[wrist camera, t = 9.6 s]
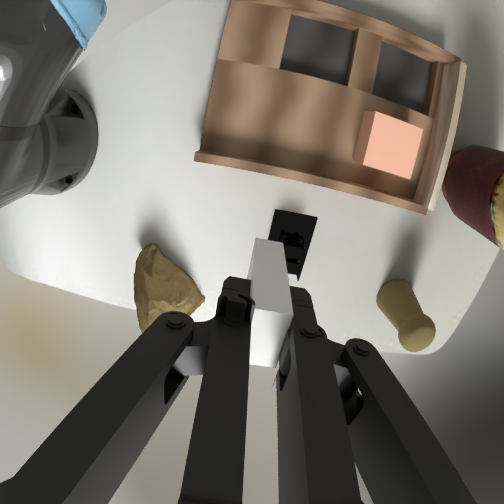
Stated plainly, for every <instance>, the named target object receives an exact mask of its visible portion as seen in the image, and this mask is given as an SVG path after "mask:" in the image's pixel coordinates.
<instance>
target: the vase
mask: <svg viewBox="0 0 504 504" xmlns="http://www.w3.org/2000/svg"><path fill="white" fill-rule="evenodd" d="M442 191H443V194H444V197H445V199H446V201H447V202H448V203H449V206H450V208H451V210H452V212H453V213H454V214H455V215H456V216H457V217H458V218H459V219H460V220H462V221H463V222H464V223H466V224H467V225H469V226H470V227H471V228H473V229H474V230H476V231H477V232H479V233H480V234H482V235H483V236H484V237H486V238H487V239H489V240H490V241H491V242H493V243H494V244H495V245H497V246H498V247H500V248H501V249H502V250H504V152H503V151H499V150H495V149H491V148H487V147H482V146H470V147H467V148H465V149H463V150H460V151H457V152H456V153H454V154H453V155H452V156H451V157H450V158H449V162H448V166H447V169H446V173H445V176H444V180H443V183H442Z"/></svg>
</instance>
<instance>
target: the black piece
mask: <svg viewBox="0 0 504 504" xmlns="http://www.w3.org/2000/svg"><path fill="white" fill-rule="evenodd" d="M317 219H318V218H317V217H314V216H309V215H304V214H299V213H294V212H289V211H284V210H278V209H275V212H274V216H273V220H272V225H271V229H270V233H269V238H268V240H270V241H276V242H281V243H283V246H284V253H285V259H286V266H287V273H288V279H289V280H294V281H299V278H300V275H301V272H302V268H303V265H304V262H305V259H306V255H307V252H308V249H309V246H310V242H311V239H312V236H313V232H314V229H315V226H316V222H317Z"/></svg>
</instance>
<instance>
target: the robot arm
mask: <svg viewBox="0 0 504 504" xmlns="http://www.w3.org/2000/svg"><path fill="white" fill-rule="evenodd" d="M106 11H107V7H106V3H105V1H104V0H0V208H1V207H3V206H5V205H7V204H9V203H11V202H13V201H15V200H17V199H19V198H21V197H23V196H25V195H27V194H39V195H55V194H59V193H62V192H65V191H67V190H69V189H71V188H73V187H74V186H76V185H77V184H79V183H80V182H81V181H82V180H83V179H84V178H85V176H86V175H87V173H88V172H89V170H90V168H91V166H92V164H93V162H94V159H95V156H96V151H97V145H98V129H97V123H96V119H95V116H94V113H93V111H92V109H91V107H90V105H89V104H88V102H87V101H86V100H85V99H84V98H83V97H82V96H81V95H79V94H78V93H76V92H74V91H72V90H68V89H59V87H60V85H61V84H62V82H63V80H64V79H65V77H66V76H67V74H68V72H69V71H70V69H71V68H72V66H73V65H74V63H75V62H76V60H77V59H78V57H79V55H80V54H81V53H82V51H83V50H84V51H85V49H86V48H87V43H88V42H89V40H90V38H91V37H92V35H93V34H94V32H95V31H96V30H97V28H98V27H99V25H100V24H101V22H102V21H103V19H104V18H105V15H106ZM278 360H279V370H278V372H277V375H276V378H275V380H274V383H273V386H272V389H275V387H276V388H277V424H278V472H279V473H278V477H279V504H364V503H363V502H362V500H361V497H360V492H359V486H358V480H357V474H356V469H355V464H356V466H357V468H358V471H359V473H360V475H361V477H362V479H363V481H364V483H365V485H366V488H367V490H368V492H369V494H370V496H371V498H372V501H373V503H374V504H476V502H475V500H474V499H473V497H472V495H471V494H470V492H469V490H468V489H467V487H466V485H465V484H464V482H463V480H462V478H461V477H460V475H459V474H458V472H457V470H456V469H455V467H454V465H453V464H452V462H451V461H450V459H449V457H448V456H447V454H446V453H445V451H444V449H443V448H442V446H441V445H440V443H439V442H438V440H437V438H436V437H435V436H434V434H433V432H432V431H431V429H430V428H429V426H428V425H427V423H426V421H425V420H424V418H423V417H422V415H421V414H420V413H419V411H418V409H417V408H416V407H415V405H414V403H413V402H412V400H411V399H410V398H409V396H408V395H407V393H406V391H405V390H404V389H403V387H402V386H401V384H400V383H399V381H398V380H397V379H396V377H395V375H394V374H393V373H392V371H391V370H390V368H389V367H388V366H387V364H386V362H385V361H384V360H383V358H382V357H381V355H380V354H379V352H378V351H377V350H376V348H375V347H374V346H373V345H372V344H371V343H369V342H367V341H366V340H363V339H358V338H353V339H349V340H348V341H347V342H346V344H345V345H342V344H339V343H336V342H333V341H331V340H329V339H327V335H326V333H325V331H324V329H322V328H321V327H320V326H319V325H317V321H316V316H315V312H314V309H313V304H312V299H311V295H310V294H309V293H308V292H307V290H306V289H305V288H299V287H293V286H289V280H288V273H287V266H286V259H285V253H284V246H283V243H281V242H276V241H270V240H265V239H260V238H255V243H254V248H253V253H252V258H251V263H250V267H249V272H248V277H247V279H242V278H237V277H231V276H229V277H228V278H227V279H226V280H225V281H224V283H223V288H222V292H221V295H220V296H219V298H218V303H217V309H216V316H215V317H214V318H212V319H211V320H208V321H205V322H194V321H193V319H192V318H191V317H190V316H189V315H187V314H185V313H183V312H179V311H168V312H164V313H162V314H161V315H159V316H158V317H157V318H156V319H155V320H154V322H153V323H152V324H151V325H150V326H149V327H148V328H147V329H146V330H145V331H144V332H143V333H142V334H141V335H140V336H139V338H138V339H137V340H136V341H135V342H134V343H133V344H132V345H131V346H130V347H129V348H128V349H127V351H125V353H124V354H123V355H122V356H121V357H120V358H119V359H118V360H117V361H116V362H115V363H114V365H112V367H111V368H110V369H109V370H108V371H107V372H106V373H105V374H104V375H103V376H102V377H101V378H100V380H99V381H98V382H97V383H96V384H95V385H94V386H93V387H92V388H91V389H90V391H89V392H88V393H87V394H86V395H85V396H84V397H83V398H82V399H81V400H80V402H79V403H78V404H77V405H76V406H75V407H74V408H73V409H72V411H71V412H70V413H69V414H68V415H67V416H66V417H65V418H64V419H63V421H62V422H61V423H60V424H59V425H58V426H57V427H56V428H55V430H54V431H53V432H52V433H51V434H50V435H49V436H48V438H47V439H46V440H45V441H44V442H43V443H42V444H41V445H40V447H39V448H38V449H37V450H36V451H35V452H34V454H33V455H32V456H31V457H30V458H29V459H28V460H27V462H26V463H25V464H24V465H23V466H22V467H21V469H20V470H19V471H18V472H17V473H16V474H15V476H14V477H12V478H10V479H8V480H6V481H4V482H2V483H0V504H108V502H109V501H110V499H111V498H112V496H113V495H114V493H115V492H116V490H117V489H118V487H119V486H120V484H121V483H122V481H123V480H124V478H125V477H126V475H127V473H128V472H129V470H130V469H131V467H132V466H133V464H134V463H135V461H136V460H137V458H138V457H139V455H140V454H141V452H142V450H143V449H144V447H145V446H146V444H147V443H148V441H149V440H150V438H151V436H152V435H153V433H154V432H155V430H156V429H157V427H158V425H159V424H160V422H161V421H162V419H163V418H164V416H165V415H166V413H167V411H168V410H169V408H170V407H171V405H172V403H173V402H174V400H175V399H176V397H177V396H178V394H179V393H180V391H181V389H182V388H183V386H184V385H185V383H186V381H187V380H188V378H189V375H203V378H202V383H201V388H200V393H199V399H198V403H197V408H196V413H195V419H194V424H193V429H192V434H191V440H190V444H189V450H188V456H187V460H186V466H185V471H184V477H183V483H182V488H181V493H180V497H179V500H178V504H242V493H243V475H244V474H243V473H244V456H245V436H246V418H247V400H248V379H249V364H253V365H260V366H267V367H275V368H276V366H277V362H278ZM358 388H359V390H360V391H361V393H362V395H360V393H359V392H358ZM354 462H355V463H354Z"/></svg>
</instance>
